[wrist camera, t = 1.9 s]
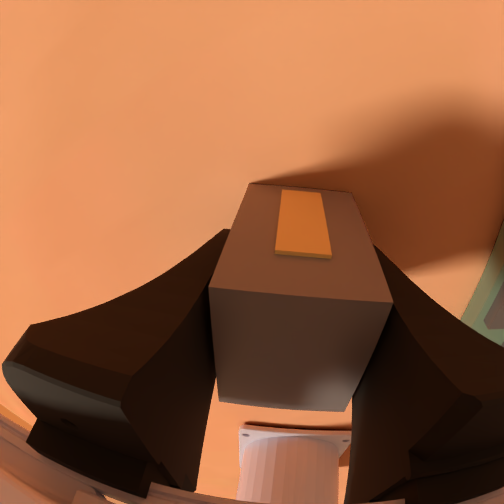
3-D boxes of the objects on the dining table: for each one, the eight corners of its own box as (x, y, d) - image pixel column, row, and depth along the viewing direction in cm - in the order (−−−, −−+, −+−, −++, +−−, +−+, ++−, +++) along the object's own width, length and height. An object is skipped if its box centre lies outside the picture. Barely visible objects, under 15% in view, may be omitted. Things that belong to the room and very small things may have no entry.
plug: (332, 288, 12) (344, 411, 7) (247, 280, 12) (219, 401, 8) (351, 190, 10) (394, 298, 5) (249, 180, 10) (208, 282, 6)
